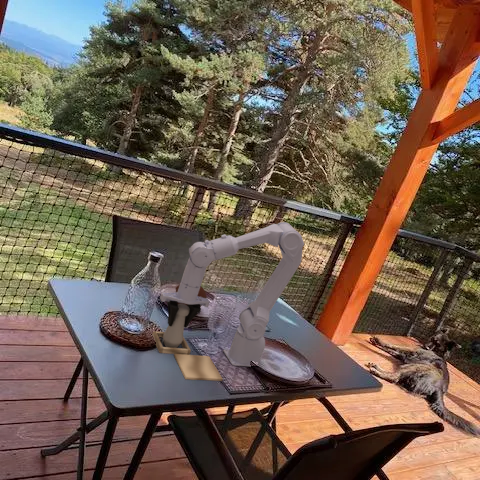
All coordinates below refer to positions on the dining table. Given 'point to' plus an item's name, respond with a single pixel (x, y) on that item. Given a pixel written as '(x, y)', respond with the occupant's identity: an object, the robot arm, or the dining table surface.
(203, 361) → the cork mat
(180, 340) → the beige bowling pin
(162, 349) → the birch collar
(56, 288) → the dining table surface
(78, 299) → the dining table surface
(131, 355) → the dining table surface
